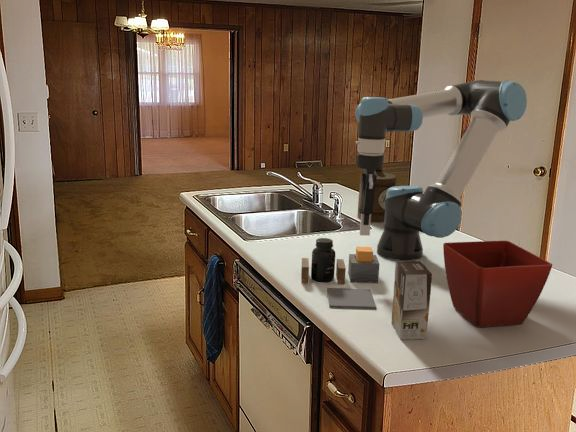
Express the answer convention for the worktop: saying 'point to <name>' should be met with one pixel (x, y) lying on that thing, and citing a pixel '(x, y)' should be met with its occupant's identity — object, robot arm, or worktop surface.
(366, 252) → the plunger
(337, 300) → the mat
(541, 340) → the worktop surface
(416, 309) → the coffee box
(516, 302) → the plant pot
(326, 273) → the supplement bottle
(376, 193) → the wooden container
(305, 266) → the block
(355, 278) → the plunger housing
